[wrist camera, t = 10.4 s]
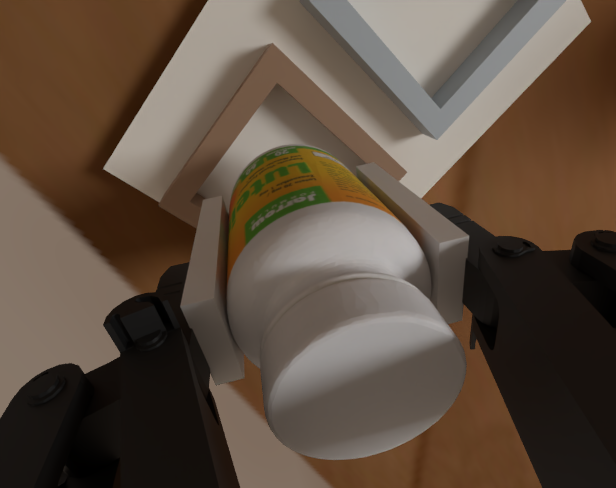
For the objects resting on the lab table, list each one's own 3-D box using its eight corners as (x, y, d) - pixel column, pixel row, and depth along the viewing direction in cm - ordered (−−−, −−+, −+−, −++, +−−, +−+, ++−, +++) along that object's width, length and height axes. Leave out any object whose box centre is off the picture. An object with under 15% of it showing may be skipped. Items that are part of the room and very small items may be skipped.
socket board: (110, 161, 17) (91, 179, 15) (400, -300, 12) (440, -386, 9) (319, 289, 23) (328, 315, 21) (570, 23, 18) (620, 18, 16)
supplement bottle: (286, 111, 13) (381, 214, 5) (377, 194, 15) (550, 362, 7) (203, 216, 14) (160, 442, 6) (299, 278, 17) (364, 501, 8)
